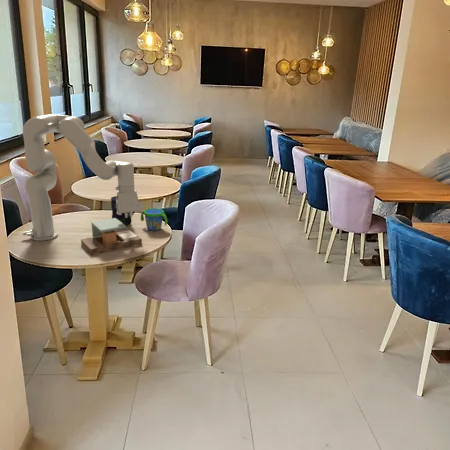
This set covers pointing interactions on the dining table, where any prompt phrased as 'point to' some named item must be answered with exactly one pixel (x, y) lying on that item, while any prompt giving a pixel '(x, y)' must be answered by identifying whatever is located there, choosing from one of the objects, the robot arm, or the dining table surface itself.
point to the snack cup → (154, 218)
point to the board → (123, 241)
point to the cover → (106, 226)
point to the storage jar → (114, 211)
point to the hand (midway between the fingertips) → (128, 224)
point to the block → (109, 237)
